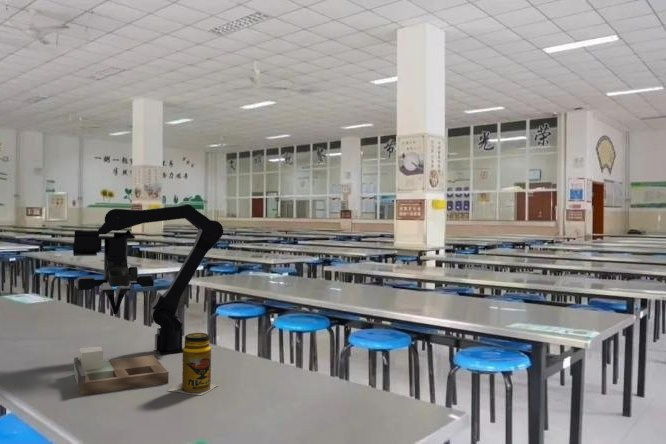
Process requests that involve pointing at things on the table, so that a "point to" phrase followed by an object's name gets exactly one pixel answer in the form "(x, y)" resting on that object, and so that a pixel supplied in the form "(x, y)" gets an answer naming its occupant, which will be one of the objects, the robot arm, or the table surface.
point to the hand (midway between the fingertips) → (115, 314)
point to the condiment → (196, 365)
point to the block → (91, 358)
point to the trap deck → (120, 374)
